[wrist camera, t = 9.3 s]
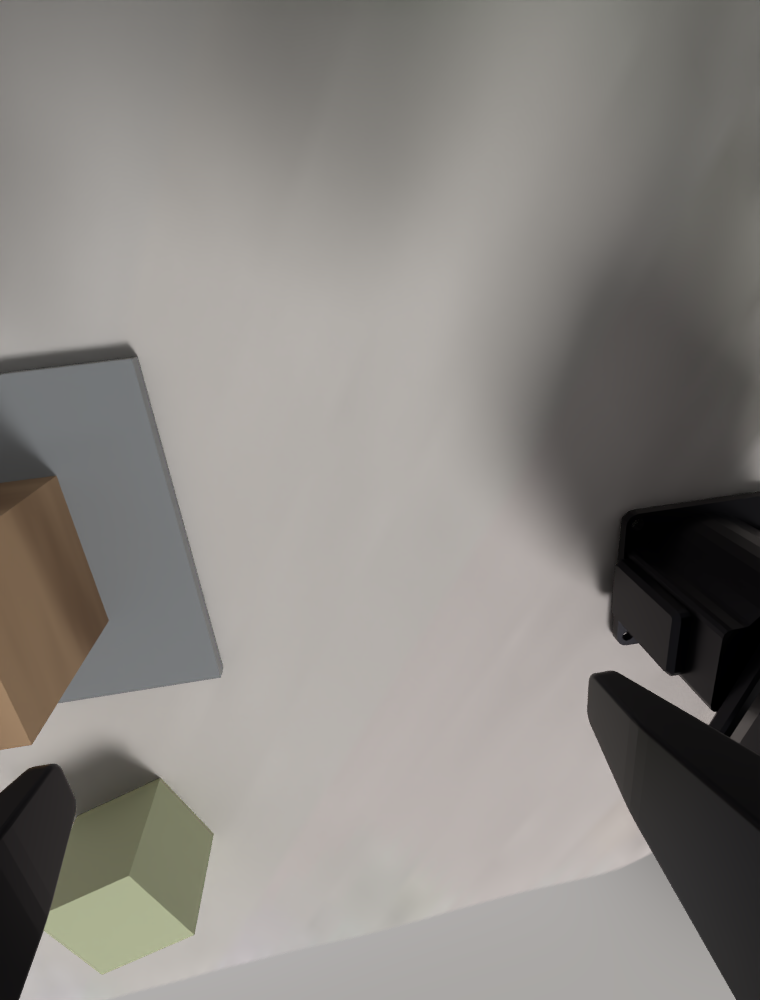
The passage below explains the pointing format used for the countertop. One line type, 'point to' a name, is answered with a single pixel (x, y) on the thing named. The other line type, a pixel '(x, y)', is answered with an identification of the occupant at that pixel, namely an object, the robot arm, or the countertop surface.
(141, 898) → the olive block
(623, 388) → the countertop surface
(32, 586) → the walnut cube
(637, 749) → the robot arm
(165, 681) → the slate coaster
